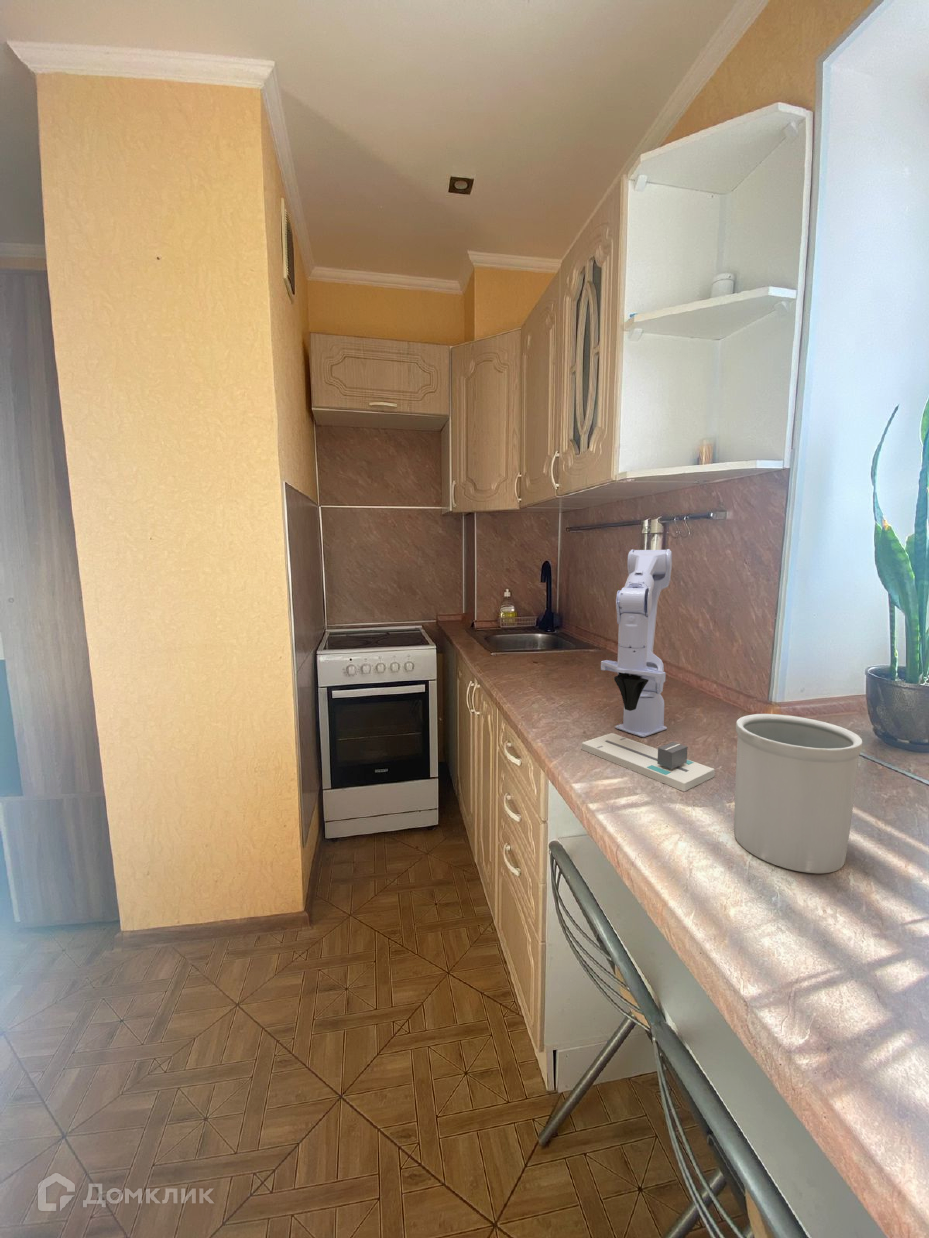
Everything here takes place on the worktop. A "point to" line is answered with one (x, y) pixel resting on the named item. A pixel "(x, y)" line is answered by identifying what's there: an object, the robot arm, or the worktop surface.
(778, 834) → the utensil holder
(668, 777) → the mixer panel
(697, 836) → the worktop surface
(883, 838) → the worktop surface
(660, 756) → the fader
